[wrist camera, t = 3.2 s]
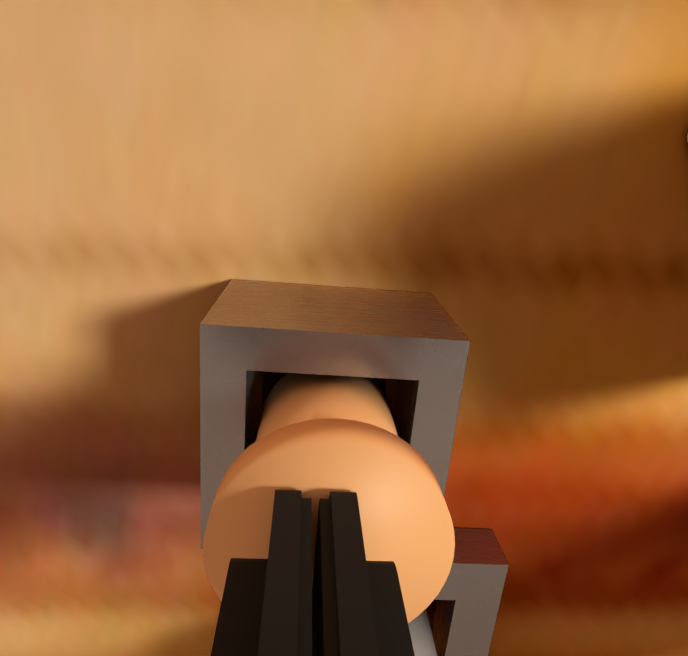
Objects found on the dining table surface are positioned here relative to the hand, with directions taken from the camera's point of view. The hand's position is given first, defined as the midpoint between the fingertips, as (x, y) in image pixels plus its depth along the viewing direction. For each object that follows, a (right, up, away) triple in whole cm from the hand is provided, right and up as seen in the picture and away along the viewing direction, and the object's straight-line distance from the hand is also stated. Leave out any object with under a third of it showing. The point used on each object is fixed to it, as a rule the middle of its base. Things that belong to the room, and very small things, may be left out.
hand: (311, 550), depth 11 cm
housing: (0, +3, +9) cm, 9 cm away
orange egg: (0, +2, +5) cm, 6 cm away
